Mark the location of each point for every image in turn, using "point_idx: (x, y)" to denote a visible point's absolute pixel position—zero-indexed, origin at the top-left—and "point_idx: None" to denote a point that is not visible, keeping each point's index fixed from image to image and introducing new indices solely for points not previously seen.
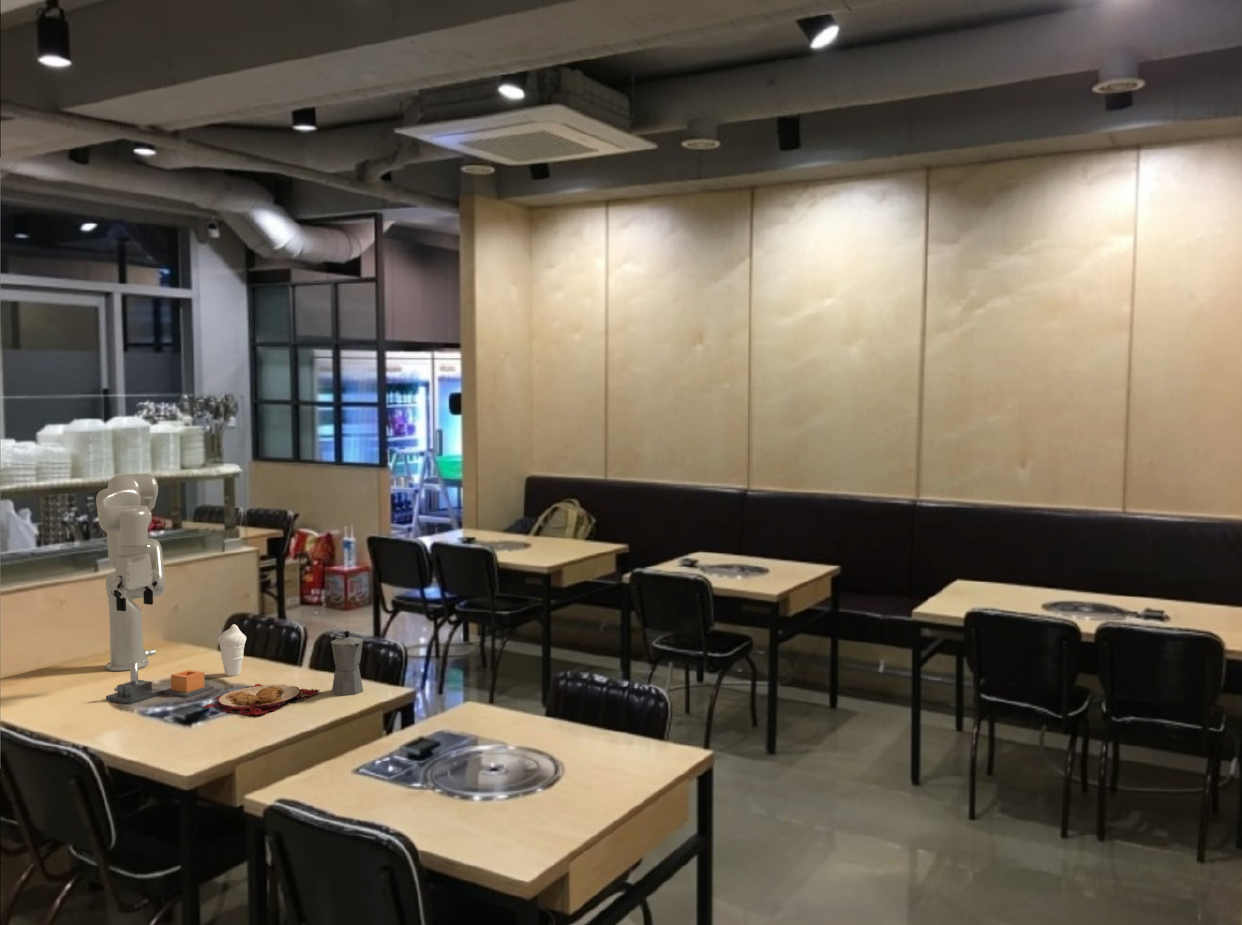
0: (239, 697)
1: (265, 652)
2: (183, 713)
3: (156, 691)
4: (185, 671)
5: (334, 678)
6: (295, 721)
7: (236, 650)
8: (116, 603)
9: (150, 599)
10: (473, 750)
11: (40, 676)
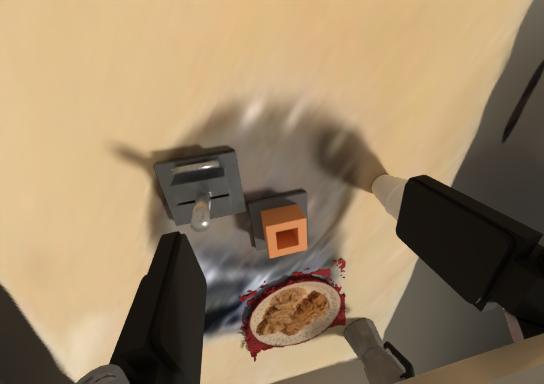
0: (276, 314)
1: (526, 93)
2: (208, 304)
3: (235, 210)
4: (295, 224)
5: (358, 342)
6: (262, 371)
7: None
8: (131, 308)
9: (420, 256)
10: None
11: None
